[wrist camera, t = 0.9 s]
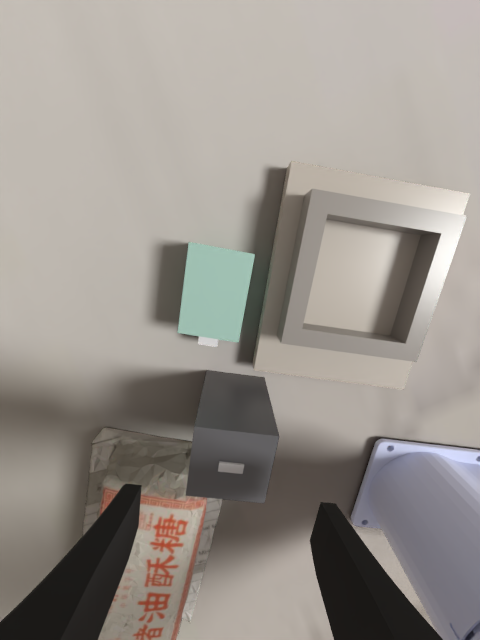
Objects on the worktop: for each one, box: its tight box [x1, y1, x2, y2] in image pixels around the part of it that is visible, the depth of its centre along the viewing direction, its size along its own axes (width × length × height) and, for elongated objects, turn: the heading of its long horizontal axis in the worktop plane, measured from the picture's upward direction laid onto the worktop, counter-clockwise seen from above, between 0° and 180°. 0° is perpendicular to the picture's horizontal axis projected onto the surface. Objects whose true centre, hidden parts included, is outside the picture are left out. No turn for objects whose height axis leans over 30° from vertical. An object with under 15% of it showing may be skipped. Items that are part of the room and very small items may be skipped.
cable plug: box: [178, 242, 255, 347], centre depth 16 cm, size 4×6×2 cm, turn 170°
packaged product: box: [82, 427, 223, 640], centre depth 19 cm, size 18×5×10 cm
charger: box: [186, 370, 279, 503], centre depth 16 cm, size 4×4×6 cm
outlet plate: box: [253, 161, 470, 390], centre depth 15 cm, size 10×12×3 cm
